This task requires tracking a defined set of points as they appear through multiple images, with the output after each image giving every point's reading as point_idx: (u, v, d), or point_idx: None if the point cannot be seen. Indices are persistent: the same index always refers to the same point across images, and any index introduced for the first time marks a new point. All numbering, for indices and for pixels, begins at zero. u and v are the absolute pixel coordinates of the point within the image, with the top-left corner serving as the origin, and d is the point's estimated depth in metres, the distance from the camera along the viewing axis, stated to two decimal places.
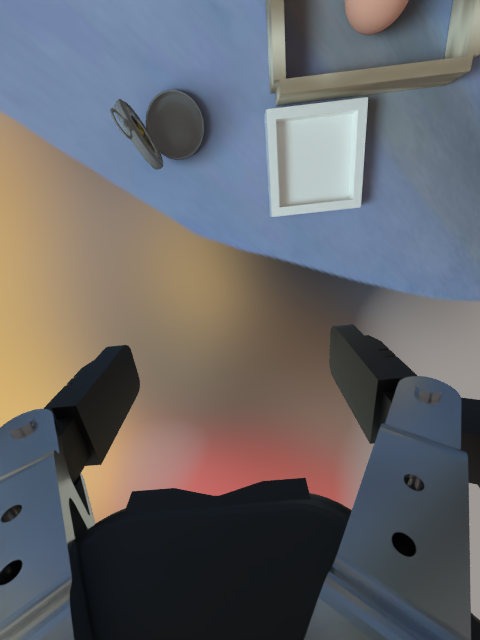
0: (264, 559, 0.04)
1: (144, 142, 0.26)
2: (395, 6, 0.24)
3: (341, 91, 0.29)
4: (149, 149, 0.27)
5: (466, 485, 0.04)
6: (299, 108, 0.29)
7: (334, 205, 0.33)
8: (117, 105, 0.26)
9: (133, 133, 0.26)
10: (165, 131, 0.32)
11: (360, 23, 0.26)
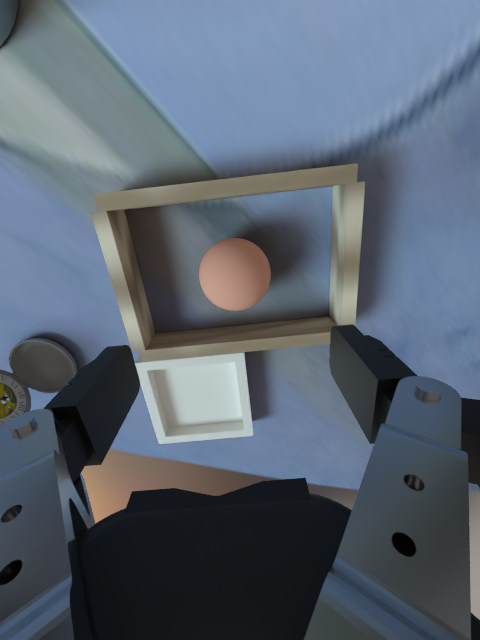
0: (264, 559, 0.04)
1: None
2: (247, 306, 0.22)
3: None
4: None
5: (465, 485, 0.04)
6: (170, 362, 0.27)
7: (224, 434, 0.31)
8: None
9: None
10: (35, 366, 0.29)
11: None
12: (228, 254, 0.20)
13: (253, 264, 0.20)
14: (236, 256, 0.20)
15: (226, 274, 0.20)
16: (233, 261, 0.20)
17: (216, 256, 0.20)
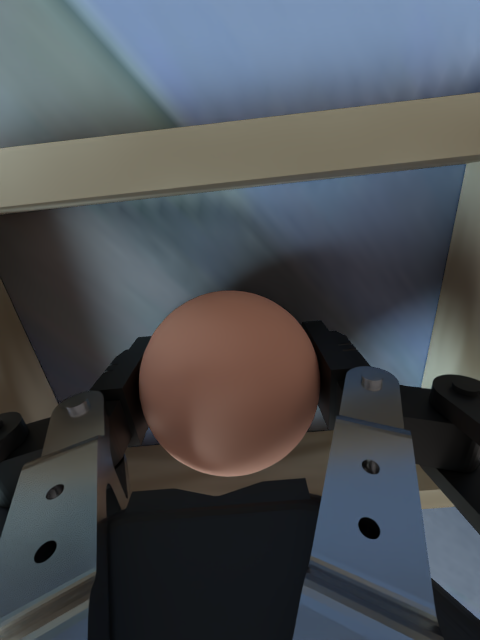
0: (264, 559, 0.04)
1: None
2: None
3: None
4: None
5: (412, 461, 0.04)
6: None
7: None
8: None
9: None
10: None
11: None
12: (209, 356, 0.07)
13: (283, 385, 0.07)
14: (234, 365, 0.07)
15: (204, 420, 0.06)
16: (222, 381, 0.06)
17: (174, 358, 0.07)
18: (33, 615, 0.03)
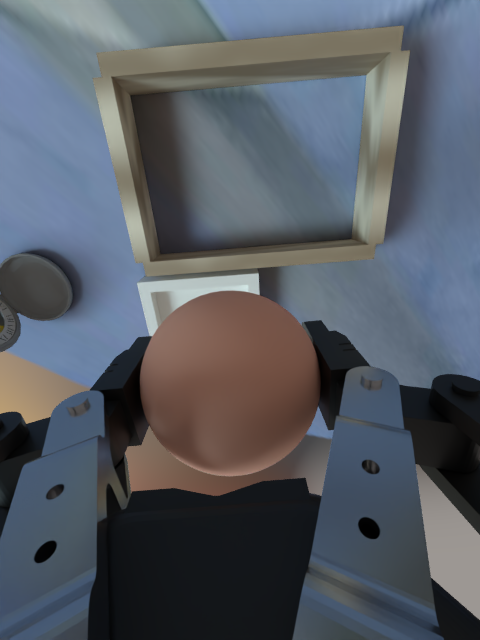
0: (264, 559, 0.04)
1: None
2: None
3: None
4: None
5: (412, 461, 0.04)
6: (177, 282, 0.24)
7: None
8: None
9: None
10: (26, 290, 0.26)
11: None
12: (211, 356, 0.07)
13: (284, 384, 0.07)
14: (235, 364, 0.07)
15: (205, 419, 0.07)
16: (223, 380, 0.06)
17: (176, 358, 0.07)
18: (33, 615, 0.03)
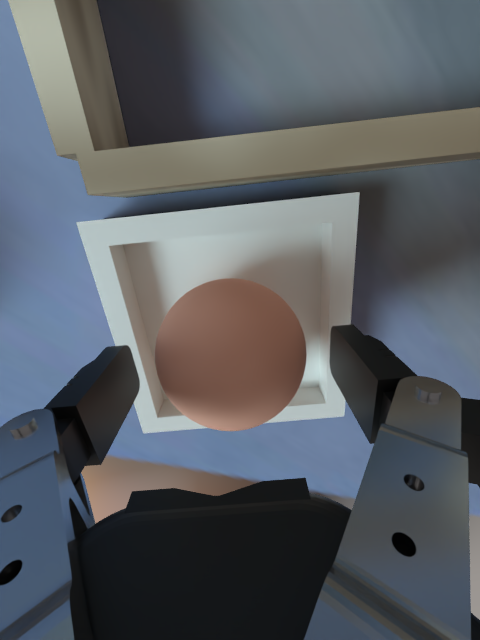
0: (264, 559, 0.04)
1: None
2: None
3: (283, 176, 0.10)
4: None
5: (466, 486, 0.04)
6: (168, 220, 0.11)
7: (283, 413, 0.14)
8: None
9: None
10: None
11: None
12: (215, 327, 0.08)
13: (274, 351, 0.08)
14: (234, 334, 0.08)
15: (210, 377, 0.08)
16: (225, 346, 0.08)
17: (187, 330, 0.09)
18: (6, 632, 0.03)
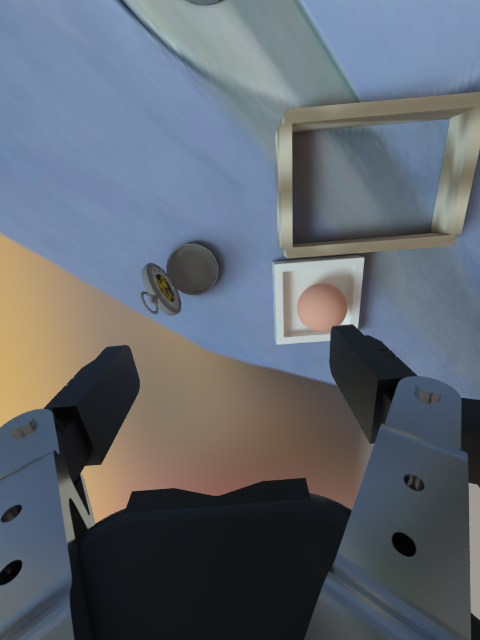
0: (264, 559, 0.04)
1: (167, 305, 0.30)
2: None
3: None
4: (171, 308, 0.31)
5: (466, 485, 0.04)
6: (303, 264, 0.33)
7: None
8: (145, 277, 0.29)
9: (158, 301, 0.29)
10: (183, 271, 0.35)
11: None
12: (325, 296, 0.31)
13: (341, 303, 0.31)
14: (331, 298, 0.31)
15: (324, 309, 0.31)
16: (328, 301, 0.31)
17: (316, 297, 0.31)
18: (7, 632, 0.03)
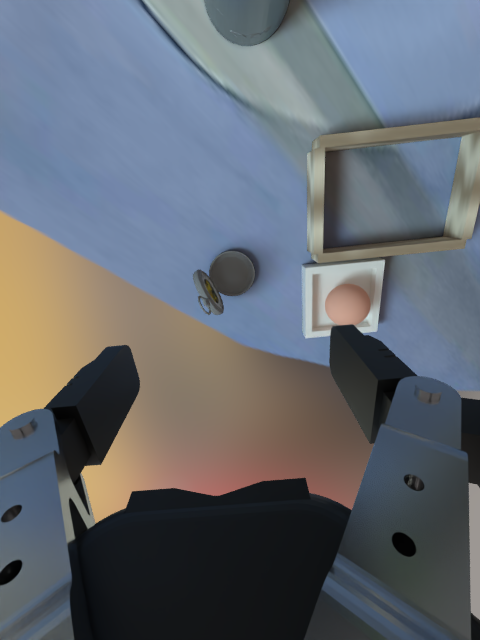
0: (264, 559, 0.04)
1: (216, 306, 0.35)
2: None
3: None
4: (218, 308, 0.35)
5: (465, 485, 0.04)
6: (331, 267, 0.38)
7: None
8: (197, 282, 0.34)
9: None
10: (223, 275, 0.40)
11: (335, 322, 0.39)
12: (352, 295, 0.35)
13: (365, 301, 0.35)
14: (357, 297, 0.35)
15: (352, 307, 0.35)
16: (355, 299, 0.35)
17: (344, 296, 0.36)
18: (7, 632, 0.03)
